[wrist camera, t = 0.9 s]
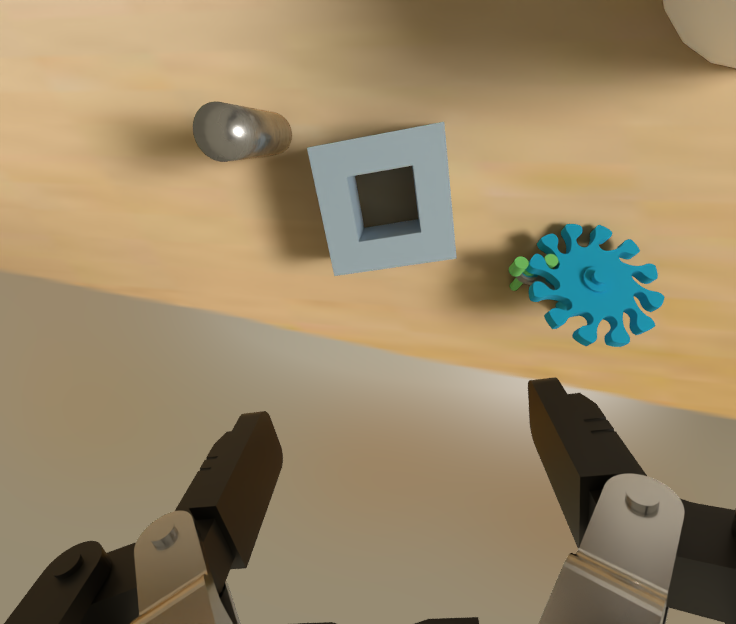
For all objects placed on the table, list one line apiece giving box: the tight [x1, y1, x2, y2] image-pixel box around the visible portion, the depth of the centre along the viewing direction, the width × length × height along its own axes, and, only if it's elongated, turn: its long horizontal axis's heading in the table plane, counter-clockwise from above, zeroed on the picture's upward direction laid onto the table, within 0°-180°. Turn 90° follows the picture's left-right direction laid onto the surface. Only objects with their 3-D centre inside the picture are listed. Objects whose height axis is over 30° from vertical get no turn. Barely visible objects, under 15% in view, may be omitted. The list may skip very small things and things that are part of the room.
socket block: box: [307, 122, 456, 276], centre depth 30 cm, size 9×9×5 cm
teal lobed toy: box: [509, 224, 664, 347], centre depth 32 cm, size 11×6×10 cm
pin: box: [193, 102, 292, 162], centre depth 27 cm, size 3×3×10 cm
